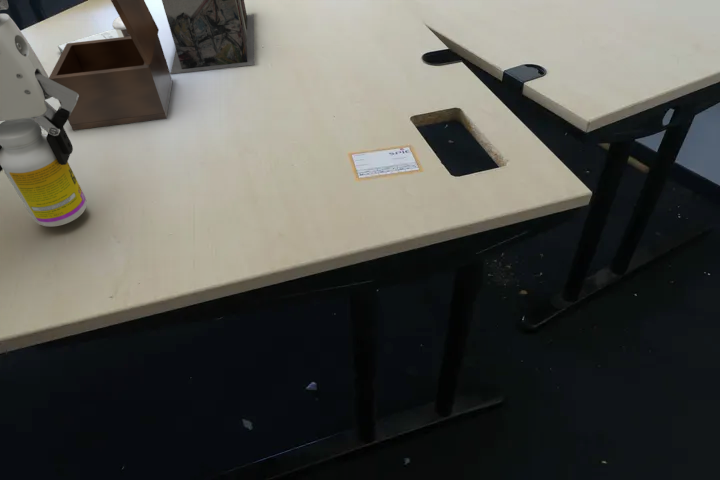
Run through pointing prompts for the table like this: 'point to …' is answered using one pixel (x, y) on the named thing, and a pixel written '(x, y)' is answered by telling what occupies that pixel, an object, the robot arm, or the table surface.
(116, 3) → the lid
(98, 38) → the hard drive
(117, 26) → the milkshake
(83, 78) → the chest
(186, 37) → the bookend
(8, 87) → the robot arm
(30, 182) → the supplement bottle
